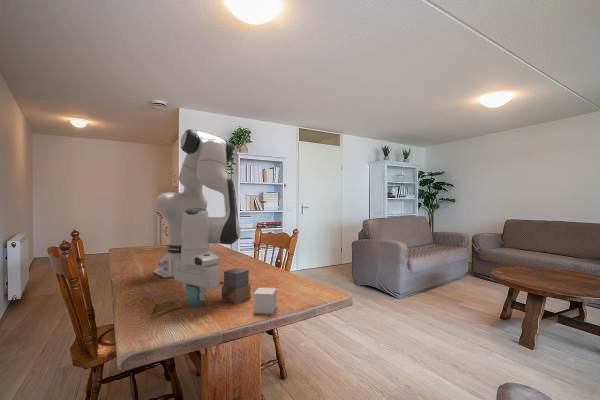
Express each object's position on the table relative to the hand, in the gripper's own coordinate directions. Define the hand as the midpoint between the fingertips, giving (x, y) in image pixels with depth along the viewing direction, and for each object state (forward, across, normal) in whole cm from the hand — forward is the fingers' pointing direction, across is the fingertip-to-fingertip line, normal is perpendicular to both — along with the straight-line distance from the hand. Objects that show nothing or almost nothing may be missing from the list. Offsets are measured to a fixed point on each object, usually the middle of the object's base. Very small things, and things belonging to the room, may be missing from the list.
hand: (195, 297), depth 92 cm
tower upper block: (-3, +8, +11) cm, 14 cm away
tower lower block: (+2, +8, +11) cm, 14 cm away
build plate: (+3, -14, +18) cm, 23 cm away
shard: (+3, -3, -8) cm, 9 cm away
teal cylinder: (+2, 0, 0) cm, 2 cm away
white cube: (+2, +23, +9) cm, 25 cm away
